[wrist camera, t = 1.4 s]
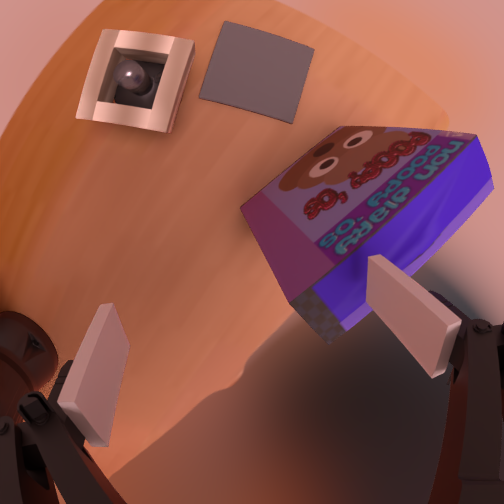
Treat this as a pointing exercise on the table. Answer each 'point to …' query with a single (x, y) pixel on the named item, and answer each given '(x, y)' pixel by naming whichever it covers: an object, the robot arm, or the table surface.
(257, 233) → the cereal box
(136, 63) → the steel stand
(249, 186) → the table surface
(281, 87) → the rubber mat
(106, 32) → the square frame
